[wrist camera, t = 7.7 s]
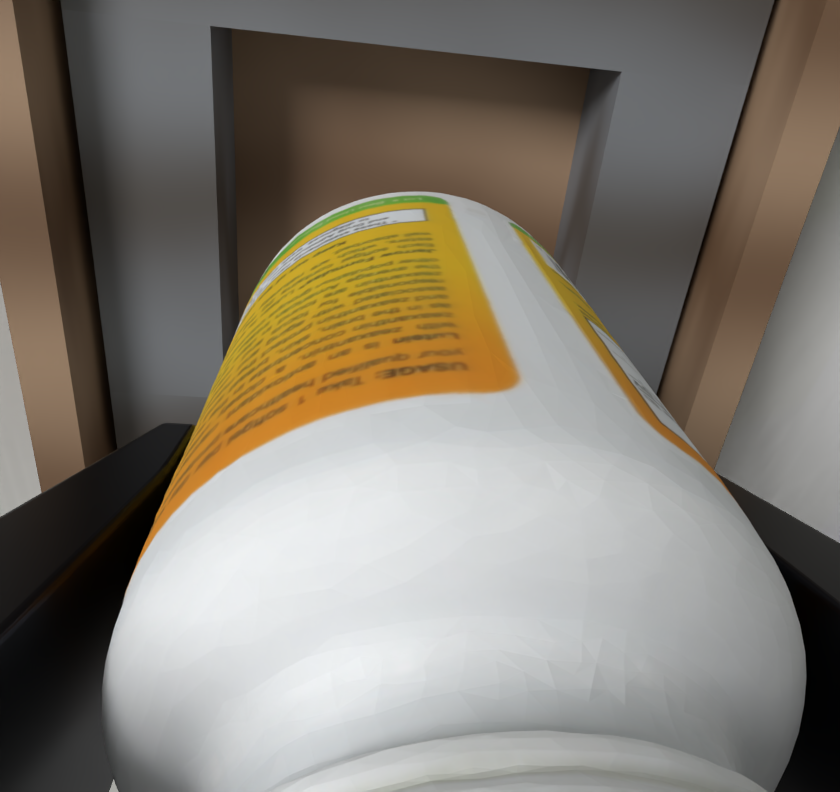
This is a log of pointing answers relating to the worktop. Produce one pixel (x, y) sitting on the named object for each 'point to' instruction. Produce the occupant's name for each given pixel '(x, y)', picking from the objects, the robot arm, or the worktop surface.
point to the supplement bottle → (444, 546)
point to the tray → (394, 175)
